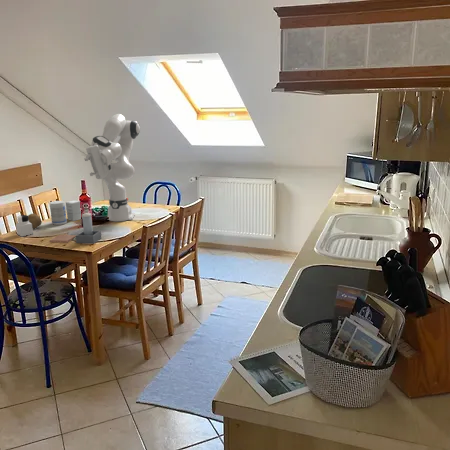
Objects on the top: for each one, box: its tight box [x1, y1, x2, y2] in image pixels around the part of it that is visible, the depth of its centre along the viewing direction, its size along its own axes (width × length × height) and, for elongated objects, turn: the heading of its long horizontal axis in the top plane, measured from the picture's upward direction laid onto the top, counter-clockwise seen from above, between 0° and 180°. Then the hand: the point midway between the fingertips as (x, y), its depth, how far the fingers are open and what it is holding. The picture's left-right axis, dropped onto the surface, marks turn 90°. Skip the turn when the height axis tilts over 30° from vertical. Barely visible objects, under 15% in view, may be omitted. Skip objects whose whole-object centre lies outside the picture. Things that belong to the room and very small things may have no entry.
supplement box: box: [65, 200, 82, 222], centre depth 304 cm, size 7×7×13 cm
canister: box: [81, 212, 94, 236], centre depth 255 cm, size 5×5×16 cm
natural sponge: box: [27, 213, 42, 230], centre depth 282 cm, size 9×9×10 cm
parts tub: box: [75, 230, 102, 245], centre depth 257 cm, size 11×11×4 cm
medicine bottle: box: [15, 214, 34, 237], centre depth 269 cm, size 7×7×12 cm
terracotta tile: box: [49, 234, 77, 243], centre depth 260 cm, size 11×11×1 cm
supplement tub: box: [49, 200, 68, 226], centre depth 293 cm, size 10×10×15 cm
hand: (88, 167), depth 255 cm, fingers open, 8 cm apart
